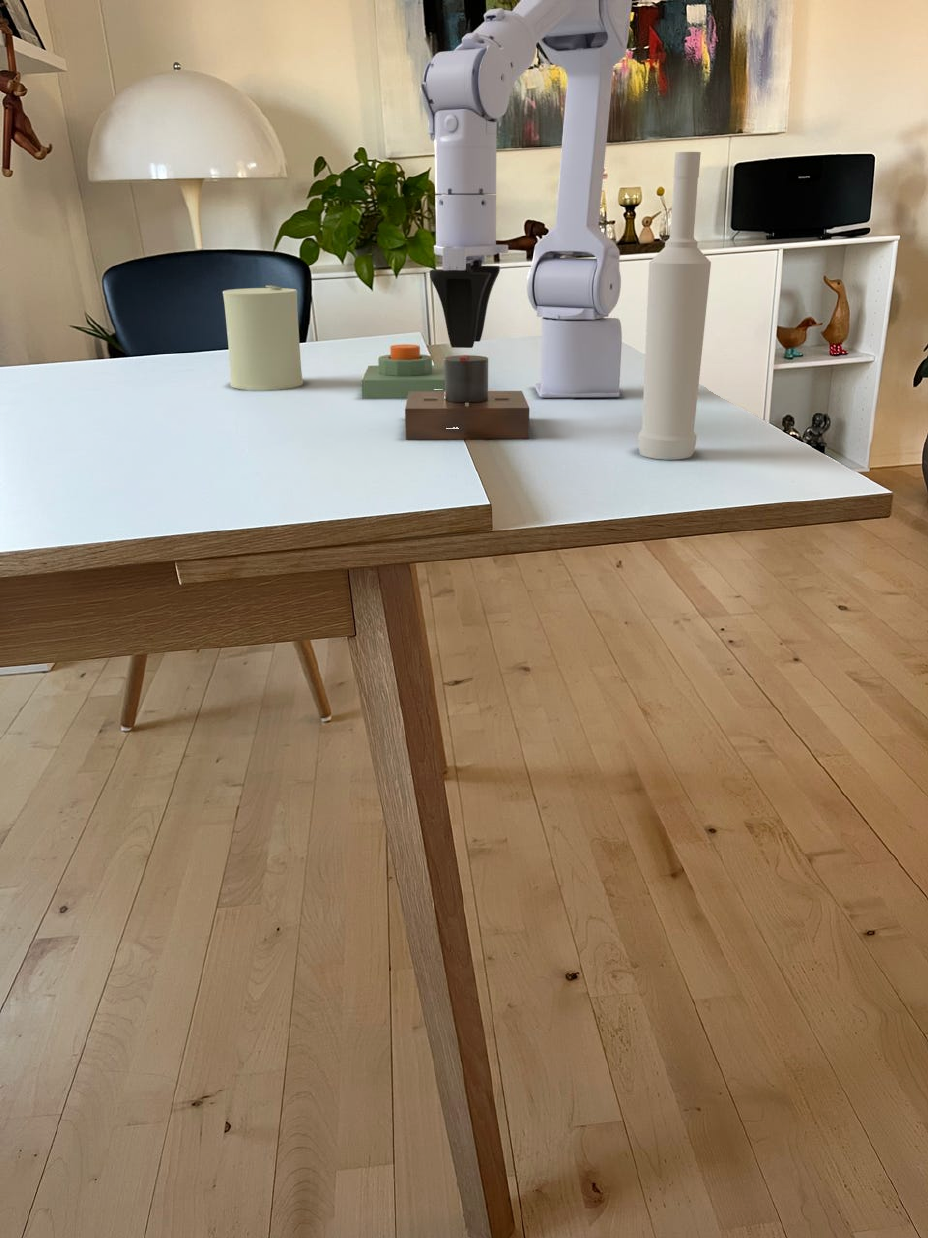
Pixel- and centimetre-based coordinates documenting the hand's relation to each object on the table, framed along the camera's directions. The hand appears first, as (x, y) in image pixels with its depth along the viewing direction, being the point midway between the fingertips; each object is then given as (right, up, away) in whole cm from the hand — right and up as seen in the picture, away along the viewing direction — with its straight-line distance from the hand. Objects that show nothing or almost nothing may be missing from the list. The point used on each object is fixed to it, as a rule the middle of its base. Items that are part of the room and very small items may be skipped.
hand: (466, 344), depth 100 cm
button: (-7, +5, +24) cm, 25 cm away
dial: (0, -5, +2) cm, 5 cm away
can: (-26, +3, +30) cm, 39 cm away
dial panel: (0, -8, +3) cm, 8 cm away
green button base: (-7, +1, +25) cm, 26 cm away
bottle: (+18, -12, -8) cm, 23 cm away
